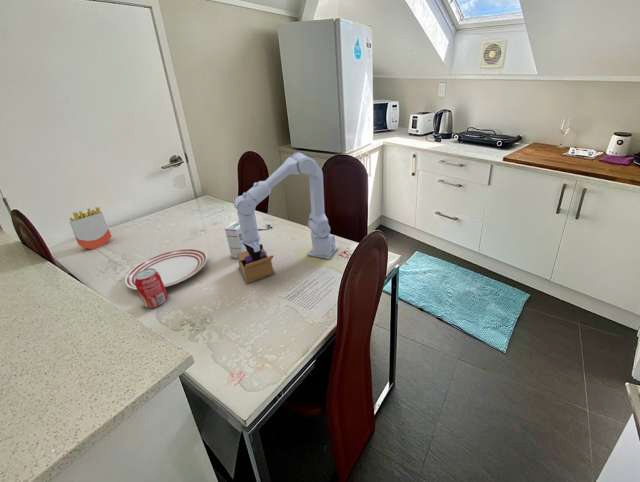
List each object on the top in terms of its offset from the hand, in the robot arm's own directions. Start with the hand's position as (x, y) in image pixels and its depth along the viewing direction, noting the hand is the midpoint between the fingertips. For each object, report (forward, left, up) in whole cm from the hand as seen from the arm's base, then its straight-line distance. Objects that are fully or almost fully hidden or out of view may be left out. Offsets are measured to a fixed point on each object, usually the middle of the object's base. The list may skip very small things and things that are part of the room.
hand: (255, 259), depth 118 cm
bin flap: (-4, +3, +2) cm, 5 cm away
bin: (+2, -2, -7) cm, 7 cm away
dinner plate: (+34, +10, -7) cm, 36 cm away
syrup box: (+16, -9, -7) cm, 20 cm away
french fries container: (+85, +4, -7) cm, 85 cm away
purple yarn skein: (0, 0, -2) cm, 2 cm away
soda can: (+24, +24, -7) cm, 34 cm away
